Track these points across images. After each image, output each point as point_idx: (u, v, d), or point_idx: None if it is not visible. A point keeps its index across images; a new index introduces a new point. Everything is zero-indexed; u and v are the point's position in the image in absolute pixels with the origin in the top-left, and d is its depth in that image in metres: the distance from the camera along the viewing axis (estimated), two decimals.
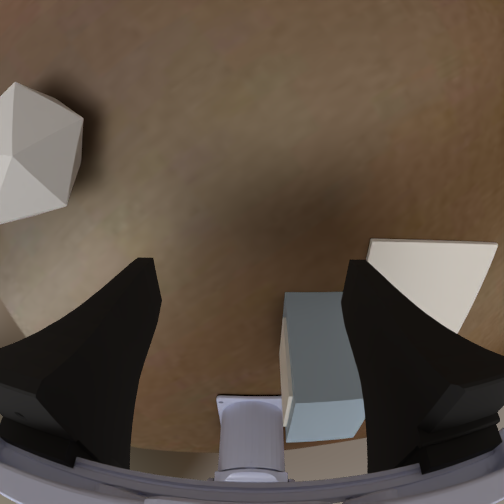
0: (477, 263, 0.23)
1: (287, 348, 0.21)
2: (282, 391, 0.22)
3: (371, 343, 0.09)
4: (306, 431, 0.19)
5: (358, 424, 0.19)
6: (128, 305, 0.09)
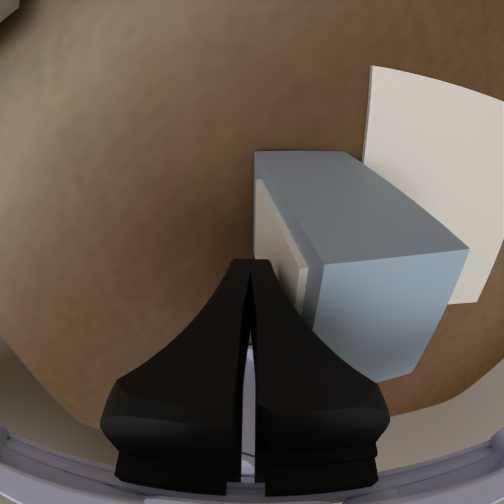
0: None
1: (273, 207, 0.12)
2: None
3: (255, 347, 0.09)
4: None
5: (428, 336, 0.10)
6: (245, 309, 0.09)
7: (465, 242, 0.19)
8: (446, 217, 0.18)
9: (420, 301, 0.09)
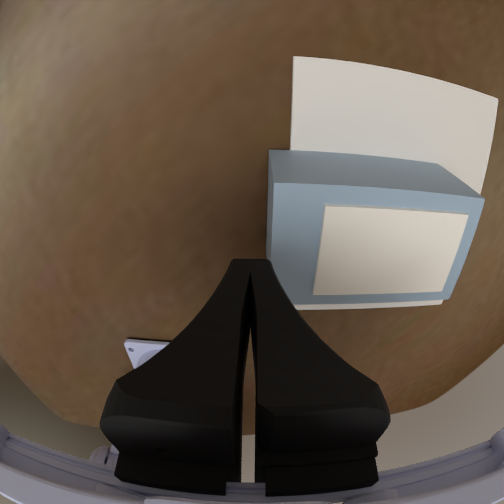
0: (474, 121, 0.14)
1: (395, 208, 0.12)
2: (404, 279, 0.14)
3: (255, 347, 0.09)
4: None
5: None
6: (245, 309, 0.09)
7: None
8: None
9: None
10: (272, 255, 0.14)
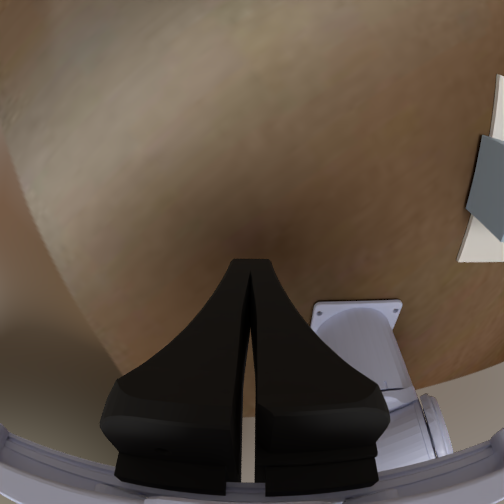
0: None
1: None
2: None
3: (255, 347, 0.09)
4: None
5: None
6: (245, 309, 0.09)
7: None
8: None
9: None
10: None
